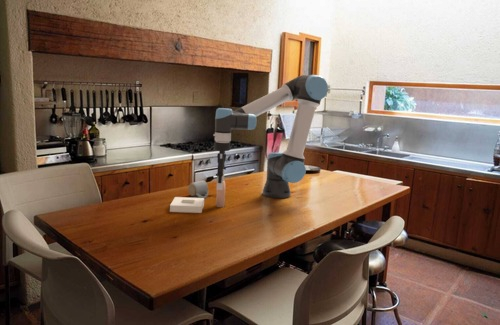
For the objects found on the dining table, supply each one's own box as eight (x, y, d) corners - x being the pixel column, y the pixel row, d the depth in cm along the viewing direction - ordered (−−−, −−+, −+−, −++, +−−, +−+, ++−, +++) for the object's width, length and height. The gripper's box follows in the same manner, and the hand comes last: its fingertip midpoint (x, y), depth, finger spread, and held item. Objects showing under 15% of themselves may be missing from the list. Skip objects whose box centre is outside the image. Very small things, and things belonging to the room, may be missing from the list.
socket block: (204, 204, 198) (204, 198, 198) (201, 212, 184) (201, 206, 184) (174, 203, 198) (175, 197, 197) (169, 211, 184) (170, 205, 183)
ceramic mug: (186, 195, 213) (187, 180, 211) (199, 192, 218) (200, 178, 217) (199, 200, 205) (199, 185, 204) (212, 197, 211) (212, 183, 209)
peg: (224, 204, 198) (225, 180, 196) (224, 207, 194) (225, 182, 192) (216, 204, 198) (217, 180, 196) (215, 207, 194) (216, 182, 192)
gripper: (216, 138, 203) (214, 179, 207) (212, 144, 178) (210, 192, 182) (231, 138, 203) (228, 180, 207) (229, 145, 179) (227, 193, 182)
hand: (220, 186), depth 194 cm, fingers open, 13 cm apart
